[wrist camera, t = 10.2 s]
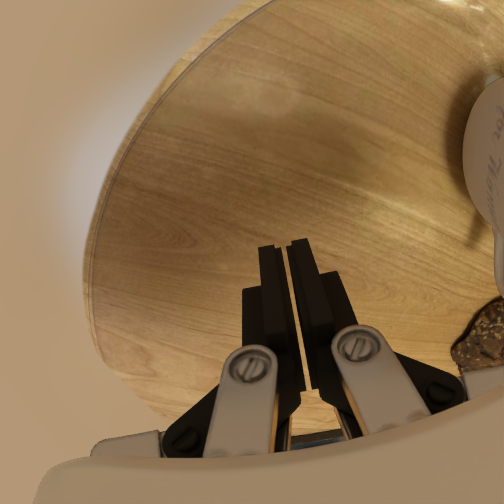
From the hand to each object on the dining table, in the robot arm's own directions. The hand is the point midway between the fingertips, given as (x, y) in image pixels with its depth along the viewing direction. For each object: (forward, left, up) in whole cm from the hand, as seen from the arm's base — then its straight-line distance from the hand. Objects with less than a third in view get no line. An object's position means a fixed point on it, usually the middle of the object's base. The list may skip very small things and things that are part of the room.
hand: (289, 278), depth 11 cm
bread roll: (+22, -19, -8) cm, 30 cm away
